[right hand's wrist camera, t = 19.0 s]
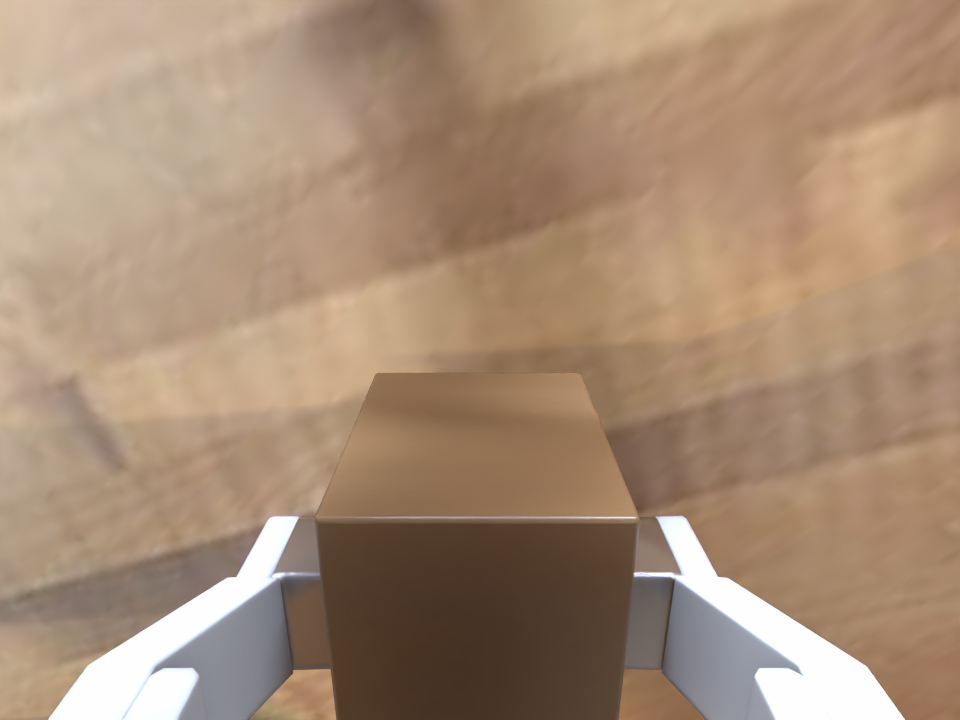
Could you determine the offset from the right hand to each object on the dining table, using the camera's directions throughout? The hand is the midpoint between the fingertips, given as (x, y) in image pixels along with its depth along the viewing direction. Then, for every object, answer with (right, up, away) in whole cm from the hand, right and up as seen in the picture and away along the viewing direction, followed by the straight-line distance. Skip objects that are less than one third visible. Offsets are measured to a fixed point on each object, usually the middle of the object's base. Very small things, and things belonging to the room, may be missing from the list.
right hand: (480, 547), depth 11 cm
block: (0, +1, +2) cm, 3 cm away
